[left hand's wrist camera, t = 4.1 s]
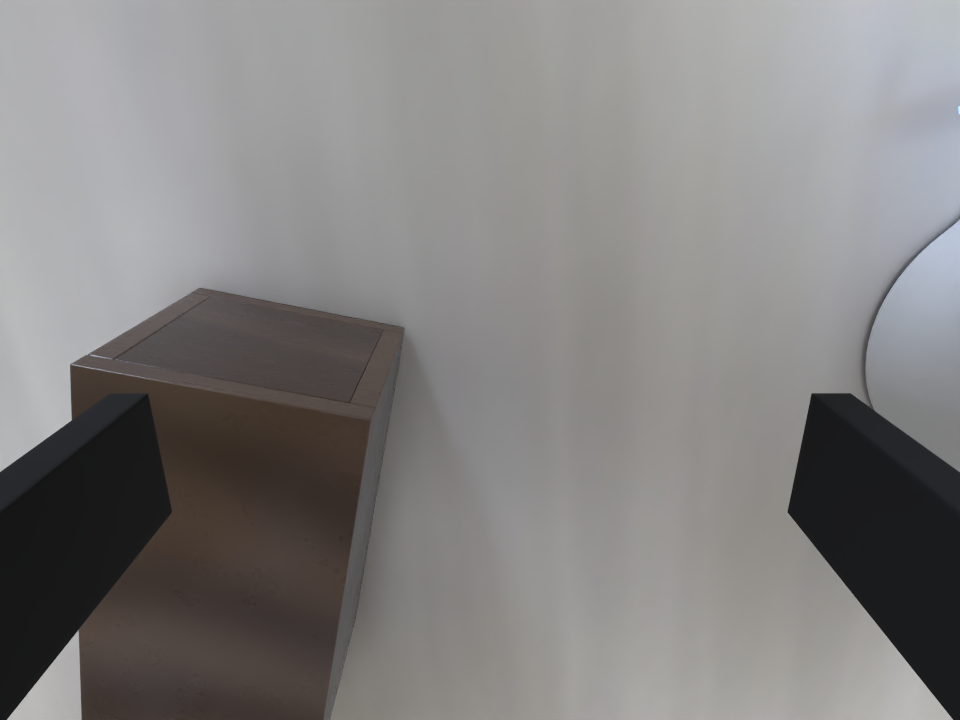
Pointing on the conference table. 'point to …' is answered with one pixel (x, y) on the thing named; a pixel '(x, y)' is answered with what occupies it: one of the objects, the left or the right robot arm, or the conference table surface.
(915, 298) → the right robot arm
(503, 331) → the conference table surface
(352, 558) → the cabinet
